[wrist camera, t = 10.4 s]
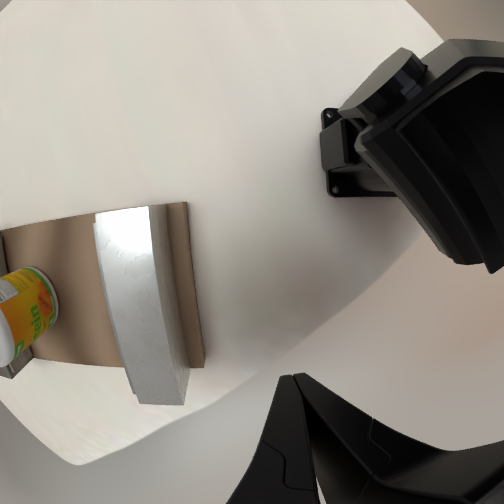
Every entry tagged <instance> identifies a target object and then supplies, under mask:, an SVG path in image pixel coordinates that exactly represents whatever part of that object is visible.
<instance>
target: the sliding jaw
mask: <svg viewBox="0 0 504 504" xmlns="http://www.w3.org/2000/svg"><path fill="white" fill-rule="evenodd" d="M95 218H96V223H93V226H94V234H95V242H96V249H97V256H98V262H99V268H100V273H101V279H102V284H103V289H104V294H105V299H106V303H107V307H108V312H109V316H110V320H111V324H112V328H113V331H114V335H115V339H116V342H117V346H118V349H119V352H120V356H121V359H122V362H123V365H124V368H125V371H126V374H127V377H128V380H129V383H130V386H131V389H132V391H133V394H136V395H137V398H138V401H139V403H140V404H154V405H184V401H185V395H186V390H187V385H188V380H189V375H190V367H189V362H188V357H187V352H186V347H185V341H184V336H183V331H182V325H181V319H180V313H179V307H178V301H177V294H176V287H175V280H174V273H173V265H172V257H171V249H170V240H169V230H168V219H167V208H166V204H163V205H154V206H145V207H137V208H129V209H122V210H115V211H109V212H102V213H96V214H95Z"/></svg>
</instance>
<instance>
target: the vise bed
mask: <svg viewBox="0 0 504 504" xmlns="http://www.w3.org/2000/svg"><path fill="white" fill-rule="evenodd" d="M161 205H163V204H161ZM152 206H154V205H152ZM144 207H145V206H144ZM136 208H137V207H136ZM166 208H167V219H168V230H169V240H170V249H171V257H172V265H173V273H174V280H175V287H176V294H177V301H178V307H179V313H180V319H181V325H182V331H183V336H184V341H185V347H186V352H187V357H188V362H189V367H190V368H204V362H205V353H204V347H203V341H202V335H201V328H200V321H199V315H198V307H197V300H196V292H195V284H194V276H193V268H192V259H191V249H190V239H189V229H188V217H187V205H186V202H180V203H170V204H166ZM128 209H129V208H128ZM120 210H122V209H120ZM113 211H115V210H113ZM106 212H109V211H106ZM99 213H102V212H99ZM95 214H96V213H92V214H86V215H80V216H74V217H68V218H62V219H56V220H50V221H45V222H40V223H34V224H29V225H24V226H20V227H15V228H10V229H5V230H1V231H0V277H3V276H5V275H7V274H9V273H11V272H14V271H16V270H18V269H21V268H24V267H33V268H36V269H38V270H39V271H41V272H42V273H43V274H44V275H45V276H46V277H47V278H48V279H49V281H50V282H51V284H52V286H53V288H54V290H55V293H56V296H57V300H58V316H57V319H56V321H55V323H54V324H53V325H52V326H51V327H50V328H49V329H48V330H47V331H46V332H44V333H43V334H42V335H41V336H40V337H38V338H37V339H36V340H35V341H34V342H33V343H31V344H30V345H29V346H28V347H27V348H26V349H25V350H24V351H22V352H21V353H20V354H19V355H18V356H17V357H16V358H15V359H14V360H13V361H12V362H10V363H9V364H8V365H7V366H5V367H0V376H3V377H6V378H10V379H13V378H14V377H15V376H16V375H17V374H18V373H19V372H20V371H21V370H22V369H23V368H24V367H25V366H26V365H27V364H28V363H29V362H30V361H31V360H32V359H33V358H38V359H44V360H51V361H58V362H66V363H74V364H84V365H94V366H107V367H124V365H123V362H122V359H121V356H120V352H119V349H118V346H117V342H116V339H115V335H114V331H113V328H112V324H111V320H110V316H109V312H108V307H107V303H106V299H105V294H104V289H103V284H102V279H101V273H100V268H99V262H98V256H97V249H96V242H95V234H94V226H93V223H96V218H95Z"/></svg>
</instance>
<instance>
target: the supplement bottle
mask: <svg viewBox="0 0 504 504" xmlns="http://www.w3.org/2000/svg"><path fill="white" fill-rule="evenodd" d="M57 316H58V300H57V296H56V293H55V290H54V288H53V286H52V284H51V282H50V281H49V279H48V278H47V277H46V276H45V275H44V274H43V273H42V272H41V271H39V270H38V269H36V268H33V267H24V268H21V269H18V270H16V271H14V272H11V273H9V274H7V275H5V276H3V277H0V367H5V366H7V365H8V364H9V363H10V362H12V361H13V360H14V359H15V358H16V357H17V356H18V355H19V354H20V353H21V352H22V351H24V350H25V349H26V348H27V347H28V346H29V345H30V344H31V343H33V342H34V341H35V340H36V339H37V338H38V337H40V336H41V335H42V334H43V333H44V332H46V331H47V330H48V329H49V328H50V327H51V326H52V325H53V324H54V323H55V321H56V319H57Z"/></svg>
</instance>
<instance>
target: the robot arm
mask: <svg viewBox="0 0 504 504" xmlns="http://www.w3.org/2000/svg"><path fill="white" fill-rule="evenodd" d="M327 112H328V113H330V115H331V117H328V116H327V115H326V113H327ZM321 118H322V128H323V131H322V132H321V133H320V145H321V157H322V167H323V168H324V169H325V170H326V180H327V192H328V194H329V195H330V196H331V197H399V199H400V200H401V201H402V202H403V203H404V205H405V206H406V207H407V208H408V210H409V211H410V212H411V213H412V215H413V216H414V217H415V218H416V220H417V221H418V222H419V224H420V225H421V226H422V228H423V229H424V230H425V232H426V233H427V234H428V236H429V237H430V238H431V240H432V241H433V243H434V244H435V245H436V247H437V248H438V250H439V251H441V252H442V253H443V254H445V255H446V256H448V257H449V258H451V259H453V261H454V262H455V263H456V264H462V265H473V264H480V263H485V265H486V268H487V269H488V272H489V273H490V274H493V273H495V272H496V271H498V270H499V269H500V268H502V267H503V266H504V42H496V41H487V40H471V39H449V40H447V41H445V42H444V43H442V44H441V45H440V46H438V47H437V48H435V49H434V50H433V51H431V52H430V53H428V54H427V55H426V56H424V57H423V58H422V59H419V58H418V57H417V56H416V55H415V54H414V53H413V52H412V51H410V50H407V49H405V48H402V47H401V48H399V49H398V50H397V51H396V52H395V53H393V54H392V55H391V56H390V57H389V58H387V59H386V60H385V61H384V62H383V63H381V64H380V65H379V66H378V67H377V68H376V69H375V70H374V71H373V73H372V74H371V75H370V76H369V77H368V78H367V79H366V80H365V81H364V82H363V83H362V84H361V85H360V87H359V88H358V89H357V90H356V91H355V92H354V93H353V94H352V95H351V96H350V97H349V99H348V100H347V101H346V102H345V103H344V104H343V105H342V106H341V107H340V109H337V108H326V109H324V110H323V111H322V113H321ZM333 187H336V188H337V192H336V193H333V191H332V188H333ZM316 478H317V480H318V483H319V486H320V488H321V491H322V493H323V496H324V498H325V501H326V504H504V440H503V441H500V442H496V443H492V444H488V445H484V446H480V447H475V448H470V449H465V450H459V451H447V450H442V449H439V448H435V447H433V446H430V445H428V444H425V443H423V442H420V441H418V440H415V439H413V438H411V437H408V436H406V435H404V434H402V433H399V432H397V431H395V430H393V429H391V428H390V427H388V426H386V425H384V424H383V423H380V422H379V421H378V420H376V419H374V418H373V419H372V417H371V416H369V415H368V414H366V413H365V412H363V411H361V410H360V409H358V408H357V407H355V406H353V405H352V404H350V403H349V402H347V401H346V400H344V399H343V398H341V397H340V396H338V395H337V394H335V393H334V392H332V391H331V390H329V389H327V388H326V387H325V386H323V385H322V384H321V383H319V382H317V381H316V380H315V379H313V378H312V377H310V376H309V375H308V374H306V373H298V374H294V375H293V376H292V375H283V376H280V378H279V381H278V384H277V387H276V391H275V394H274V397H273V401H272V404H271V407H270V410H269V413H268V416H267V420H266V423H265V426H264V429H263V432H262V435H261V438H260V441H259V444H258V446H257V449H256V452H255V454H254V456H253V459H252V461H251V463H250V465H249V467H248V469H247V471H246V473H245V474H244V476H243V478H242V479H241V481H240V483H239V484H238V486H237V487H236V489H235V490H234V492H233V494H232V495H231V497H230V498H229V500H228V502H227V503H226V504H320V500H319V494H318V487H317V481H316Z"/></svg>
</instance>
